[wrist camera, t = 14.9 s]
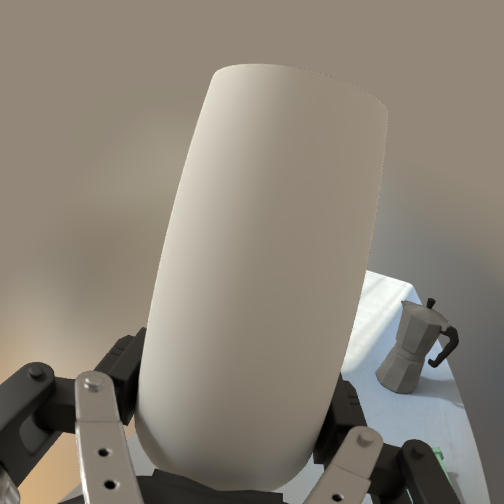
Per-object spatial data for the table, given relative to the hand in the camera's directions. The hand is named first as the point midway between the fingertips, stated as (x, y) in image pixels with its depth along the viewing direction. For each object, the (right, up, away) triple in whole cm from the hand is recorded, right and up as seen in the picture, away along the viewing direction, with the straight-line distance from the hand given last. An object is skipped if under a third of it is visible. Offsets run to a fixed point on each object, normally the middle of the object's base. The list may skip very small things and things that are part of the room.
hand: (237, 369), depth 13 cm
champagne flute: (-3, -14, +2) cm, 14 cm away
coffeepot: (+29, -21, +41) cm, 55 cm away
